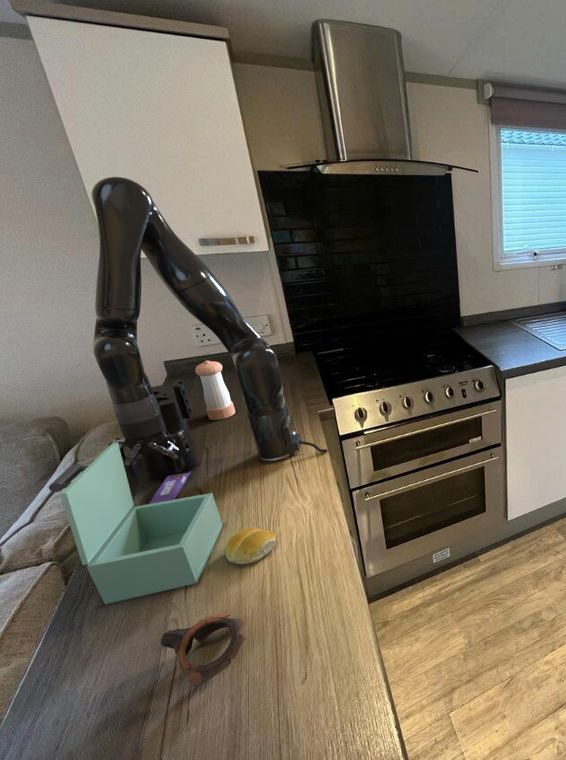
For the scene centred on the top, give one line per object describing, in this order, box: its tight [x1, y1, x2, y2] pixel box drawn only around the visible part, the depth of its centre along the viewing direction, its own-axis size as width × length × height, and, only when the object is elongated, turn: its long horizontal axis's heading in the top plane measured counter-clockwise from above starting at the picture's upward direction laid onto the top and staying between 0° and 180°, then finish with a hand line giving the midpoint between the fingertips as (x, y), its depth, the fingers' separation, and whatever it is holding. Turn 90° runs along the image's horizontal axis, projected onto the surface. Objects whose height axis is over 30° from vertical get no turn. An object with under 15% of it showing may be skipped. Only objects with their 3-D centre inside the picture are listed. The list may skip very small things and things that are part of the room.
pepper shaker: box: [194, 360, 236, 421], centre depth 141 cm, size 7×7×19 cm
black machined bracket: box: [141, 379, 197, 480], centre depth 117 cm, size 12×21×22 cm, turn 39°
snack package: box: [148, 471, 192, 504], centre depth 108 cm, size 12×2×5 cm
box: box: [86, 492, 224, 605], centre depth 86 cm, size 14×16×9 cm
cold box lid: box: [48, 442, 135, 566], centre depth 79 cm, size 15×16×5 cm
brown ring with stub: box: [160, 612, 247, 686], centre depth 69 cm, size 12×10×8 cm
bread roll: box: [224, 526, 277, 565], centre depth 90 cm, size 8×9×4 cm
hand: (159, 473), depth 107 cm, fingers open, 8 cm apart
